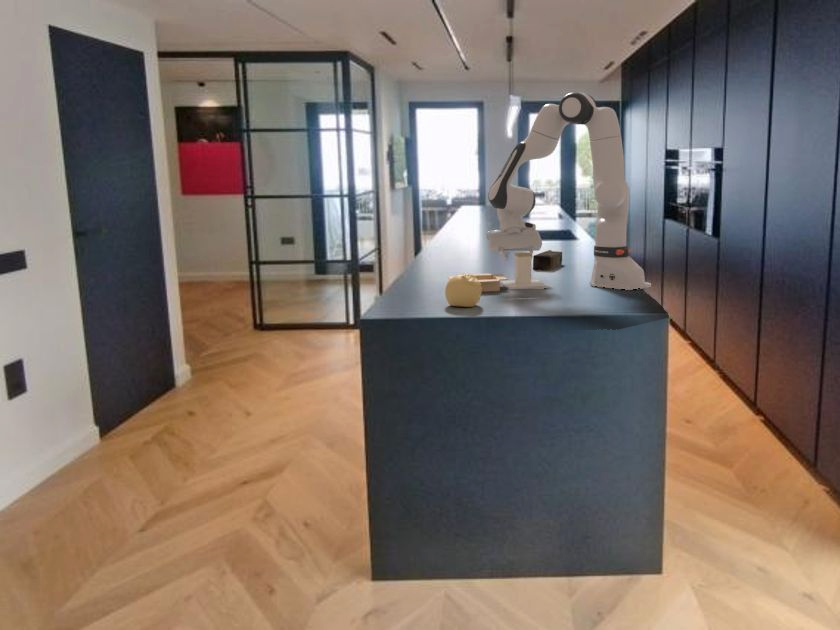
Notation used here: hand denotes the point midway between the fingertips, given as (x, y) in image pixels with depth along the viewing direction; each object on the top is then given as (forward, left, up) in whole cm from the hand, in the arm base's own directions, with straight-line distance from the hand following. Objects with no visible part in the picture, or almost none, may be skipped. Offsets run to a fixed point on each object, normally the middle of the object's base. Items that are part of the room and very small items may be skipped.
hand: (518, 258), depth 283 cm
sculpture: (-19, +42, -10) cm, 47 cm away
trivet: (-6, +3, -9) cm, 11 cm away
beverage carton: (+22, -38, -10) cm, 45 cm away
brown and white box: (-6, +3, -8) cm, 10 cm away
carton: (0, +20, -9) cm, 22 cm away
